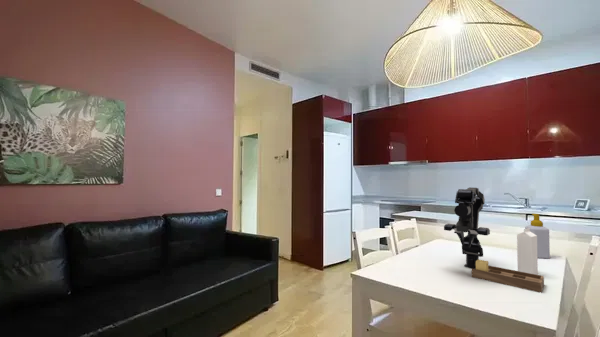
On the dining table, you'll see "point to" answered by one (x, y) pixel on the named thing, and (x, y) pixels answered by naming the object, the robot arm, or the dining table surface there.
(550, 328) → the dining table surface
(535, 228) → the soap bottle
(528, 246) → the milk
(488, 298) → the dining table surface
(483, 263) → the block
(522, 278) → the wooden compartment tray
